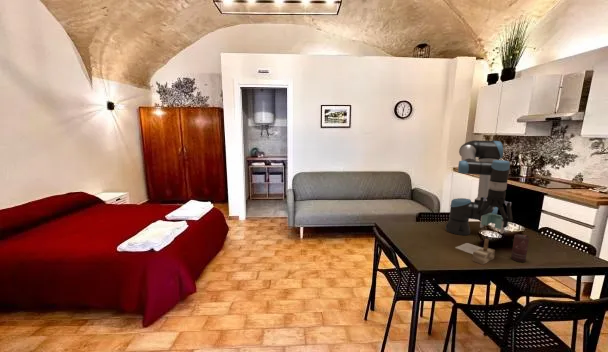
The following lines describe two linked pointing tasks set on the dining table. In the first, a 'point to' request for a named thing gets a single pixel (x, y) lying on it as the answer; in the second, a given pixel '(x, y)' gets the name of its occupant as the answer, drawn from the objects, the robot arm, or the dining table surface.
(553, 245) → the dining table surface
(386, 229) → the dining table surface
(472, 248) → the felt mat
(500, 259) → the dining table surface
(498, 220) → the c link
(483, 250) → the hook stand
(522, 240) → the can
